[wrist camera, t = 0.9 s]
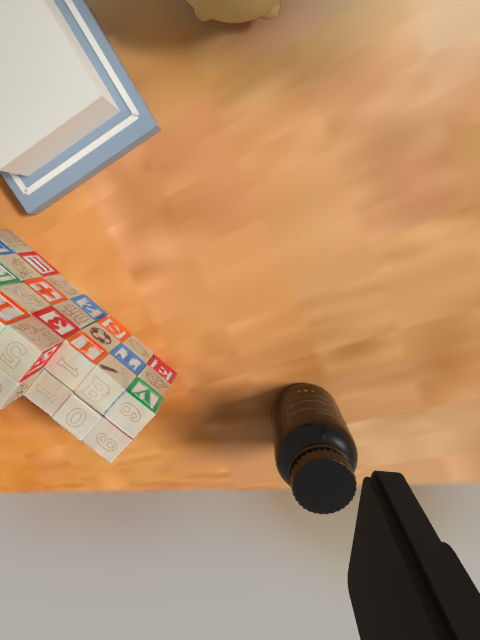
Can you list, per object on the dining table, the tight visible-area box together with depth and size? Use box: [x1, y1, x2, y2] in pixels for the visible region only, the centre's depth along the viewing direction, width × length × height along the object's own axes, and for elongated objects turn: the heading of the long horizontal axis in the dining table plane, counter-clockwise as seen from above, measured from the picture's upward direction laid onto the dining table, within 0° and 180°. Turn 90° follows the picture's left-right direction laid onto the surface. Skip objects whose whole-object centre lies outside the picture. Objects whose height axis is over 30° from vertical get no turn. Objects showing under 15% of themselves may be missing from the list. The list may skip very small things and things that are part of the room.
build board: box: [0, 0, 161, 214], centre depth 31 cm, size 14×15×6 cm
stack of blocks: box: [0, 230, 177, 463], centre depth 33 cm, size 21×6×12 cm, turn 48°
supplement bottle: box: [271, 384, 358, 514], centre depth 34 cm, size 7×7×12 cm
